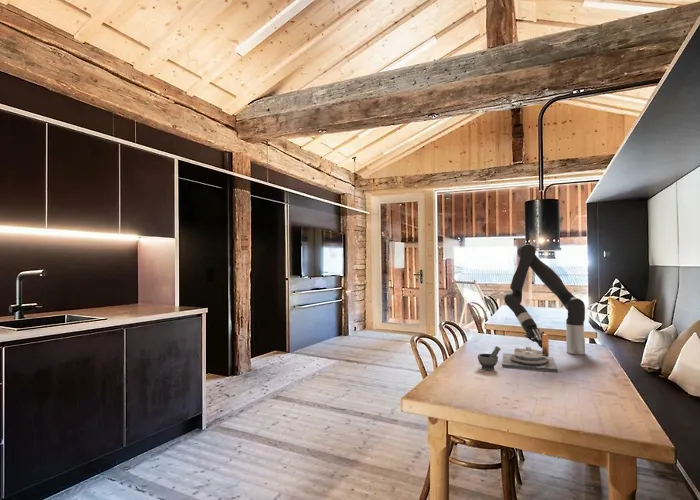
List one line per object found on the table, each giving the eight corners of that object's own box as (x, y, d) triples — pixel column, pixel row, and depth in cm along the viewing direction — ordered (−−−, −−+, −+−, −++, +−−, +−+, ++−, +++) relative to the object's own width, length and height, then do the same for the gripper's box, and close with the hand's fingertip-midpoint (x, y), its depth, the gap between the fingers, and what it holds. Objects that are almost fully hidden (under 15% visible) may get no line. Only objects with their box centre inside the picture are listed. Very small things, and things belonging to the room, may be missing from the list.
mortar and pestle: (478, 370, 198) (477, 347, 198) (477, 366, 207) (477, 343, 207) (501, 372, 195) (501, 348, 195) (500, 367, 204) (499, 344, 204)
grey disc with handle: (527, 362, 203) (527, 339, 204) (508, 355, 216) (508, 334, 217) (558, 358, 210) (557, 336, 210) (537, 352, 223) (537, 331, 223)
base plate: (553, 359, 219) (552, 354, 219) (557, 372, 195) (557, 366, 195) (503, 355, 229) (503, 350, 229) (502, 366, 205) (502, 361, 205)
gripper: (520, 318, 226) (537, 344, 214) (539, 317, 230) (556, 342, 218) (514, 326, 231) (530, 351, 219) (532, 324, 235) (548, 349, 223)
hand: (543, 347), depth 218 cm, fingers closed
